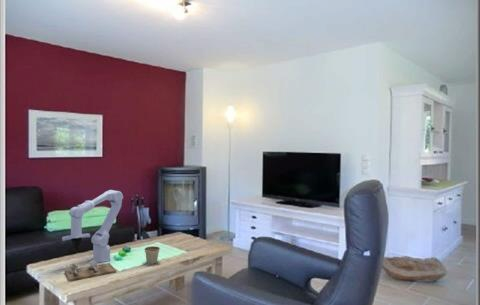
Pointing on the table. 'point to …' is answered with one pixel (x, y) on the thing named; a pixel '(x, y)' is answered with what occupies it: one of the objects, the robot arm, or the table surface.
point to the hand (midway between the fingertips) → (76, 250)
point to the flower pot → (152, 254)
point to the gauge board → (88, 271)
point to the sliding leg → (93, 265)
